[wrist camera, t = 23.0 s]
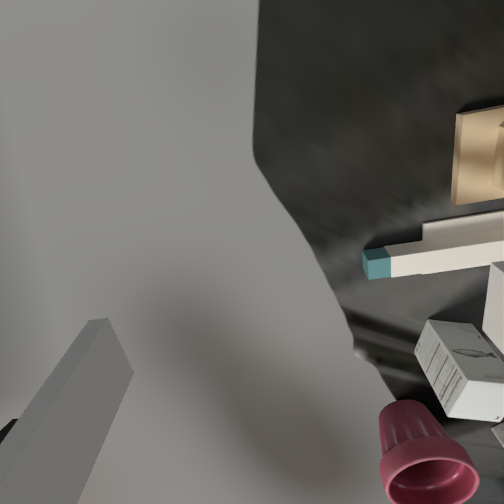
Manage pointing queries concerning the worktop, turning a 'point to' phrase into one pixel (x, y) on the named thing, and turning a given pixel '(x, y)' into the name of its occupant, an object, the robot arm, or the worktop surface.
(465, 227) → the notepad
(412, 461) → the plant pot
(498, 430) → the skincare box
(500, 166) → the stand
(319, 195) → the worktop surface
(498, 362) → the supplement box
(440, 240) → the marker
